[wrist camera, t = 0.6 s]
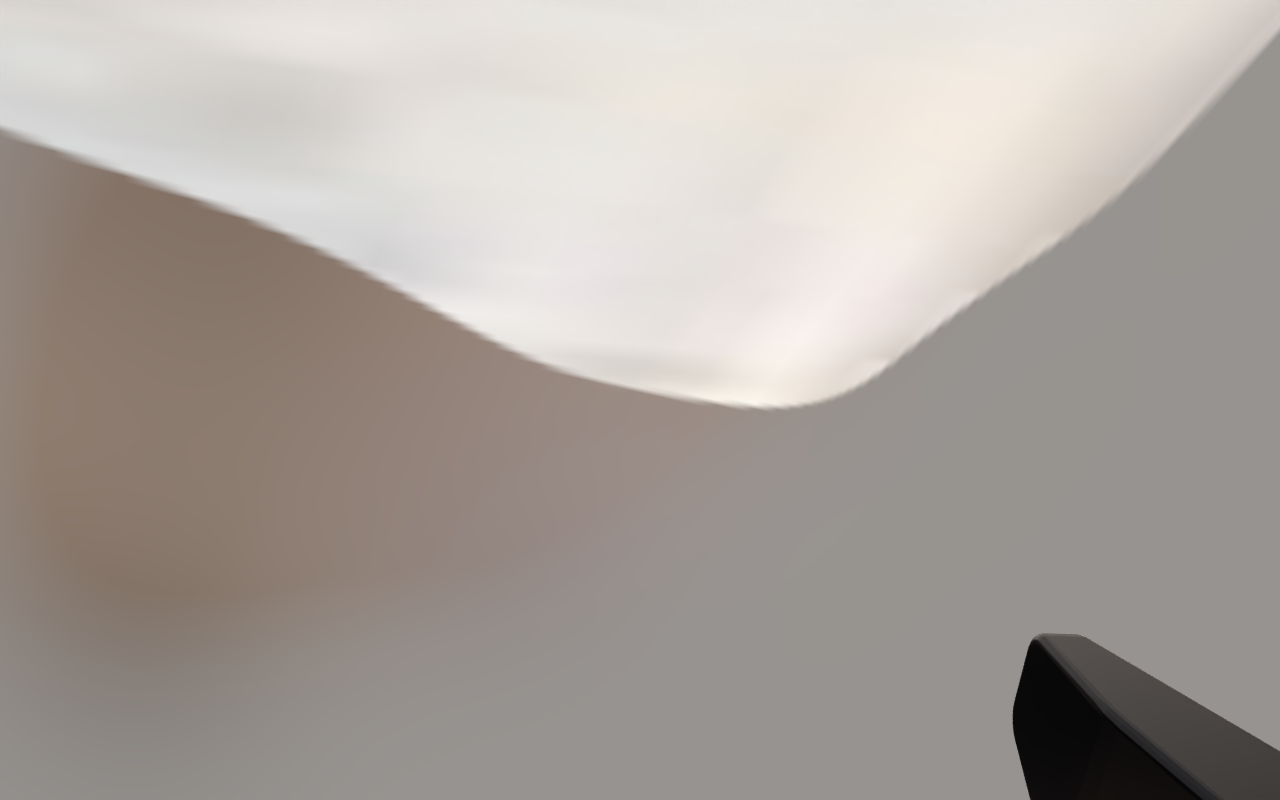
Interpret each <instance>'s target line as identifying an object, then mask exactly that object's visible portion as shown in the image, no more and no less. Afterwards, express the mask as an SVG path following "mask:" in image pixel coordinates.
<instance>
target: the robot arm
mask: <svg viewBox="0 0 1280 800" xmlns="http://www.w3.org/2000/svg"><path fill="white" fill-rule="evenodd" d="M1013 731H1014V737H1015V742H1016V745H1017V749H1018V753H1019V757H1020V761H1021V765H1022V769H1023V773H1024V777H1025V781H1026V785H1027V789H1028V792H1029V796H1030V800H1280V751H1278V750H1277V749H1275V748H1273V747H1272V746H1270V745H1268V744H1266V743H1265V742H1263V741H1261V740H1260V739H1258V738H1256V737H1255V736H1253V735H1251V734H1250V733H1248V732H1246V731H1244V730H1243V729H1241V728H1239V727H1238V726H1236V725H1234V724H1233V723H1231V722H1229V721H1227V720H1226V719H1224V718H1222V717H1220V716H1219V715H1217V714H1215V713H1214V712H1212V711H1210V710H1209V709H1207V708H1205V707H1204V706H1202V705H1200V704H1198V703H1197V702H1195V701H1193V700H1192V699H1190V698H1188V697H1187V696H1185V695H1183V694H1181V693H1180V692H1178V691H1176V690H1174V689H1173V688H1171V687H1169V686H1168V685H1166V684H1164V683H1163V682H1161V681H1159V680H1158V679H1156V678H1154V677H1153V676H1151V675H1149V674H1147V673H1146V672H1144V671H1142V670H1141V669H1139V668H1137V667H1136V666H1134V665H1132V664H1130V663H1129V662H1127V661H1125V660H1124V659H1122V658H1120V657H1118V656H1117V655H1115V654H1113V653H1112V652H1110V651H1108V650H1107V649H1105V648H1103V647H1101V646H1100V645H1098V644H1096V643H1094V642H1093V641H1091V640H1090V639H1088V638H1086V637H1083V636H1081V635H1074V634H1046V633H1042V634H1038V635H1037V636H1036V637H1034V638H1033V639H1032V641H1031V643H1030V645H1029V647H1028V651H1027V655H1026V659H1025V662H1024V666H1023V670H1022V674H1021V678H1020V682H1019V686H1018V689H1017V693H1016V697H1015V701H1014V706H1013Z"/></svg>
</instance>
